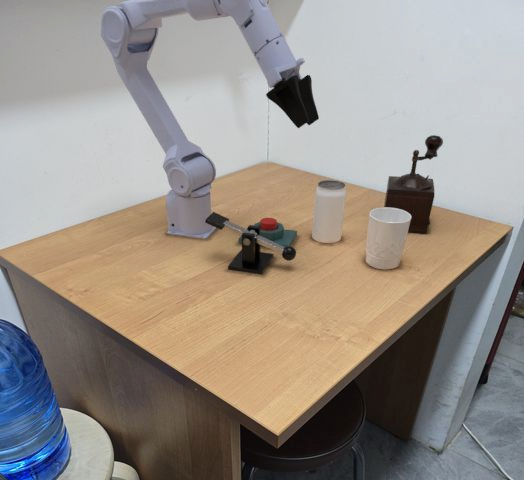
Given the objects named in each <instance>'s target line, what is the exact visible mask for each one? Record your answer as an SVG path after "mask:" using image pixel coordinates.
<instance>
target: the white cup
mask: <svg viewBox="0 0 524 480" xmlns="http://www.w3.org/2000/svg"><path fill="white" fill-rule="evenodd" d="M411 218H412V217H411V215H410V214H409V213H408V212H406V211H404V210H401V209H397V208H389V207H384V206H383V207H377V208H373V209H371V210H370V211H369V214H368V224H367V232H366V235H367V236H366V247H365V249H366V251H365V263H366V264H368V266H370V267H372V268H374V269H378V270H393V269H396V268H398V266H399V265H400V263H401V260H402V254H403V253H404V248H405V245H406V241H407V237H408V233H409V232H408V230H409V226H410V222H411Z"/></svg>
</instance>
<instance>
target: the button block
mask: <svg viewBox="0 0 524 480" xmlns="http://www.w3.org/2000/svg"><path fill="white" fill-rule="evenodd" d="M250 225H251V226H259V227H260V221H258V222H255V223H254V224H250ZM246 229H247V230H248V227H247V228H246ZM239 236H240V235H239ZM261 236H262V237H264V238H266V239H269V240H271V241H273V242H275V243H277V244H280V245H282V246H284V247H286V246H292V245H293V243H294V242H295V240H296V238H297V236H298V231H297V230H292V229H285V227H284V225H283V224H282V223H281V222H278V221H277V229H276V230H272V231H266V230H262V229H261ZM238 244H239V245H242V236H240V237H238ZM260 248H265V247H264V246H262V245H261V246H260Z"/></svg>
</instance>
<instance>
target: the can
mask: <svg viewBox="0 0 524 480" xmlns="http://www.w3.org/2000/svg"><path fill="white" fill-rule="evenodd" d="M345 187H346V183H344V182H343V181H340V180H335V179H325V180H320V181H318V183H317V186H316V189H315V192H314V202H313V203H314V205H313V217H312V230H311V231H312V232H311V237H312V239H313V240H314V241H316V242H318V243H322V244H335V243H338V242H339V241H341V240H342V234H343V227H344V226H343V225H344V219H345V211H346V210H345V209H346V199H347V190H346V188H345Z"/></svg>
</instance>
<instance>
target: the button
mask: <svg viewBox="0 0 524 480" xmlns="http://www.w3.org/2000/svg"><path fill="white" fill-rule="evenodd" d="M259 222H260V227H261V229H262V230H266V231H272V230H276V229H277V222H278V220H277V219H276V218H273V217H263V218H261V219H260V220H259Z"/></svg>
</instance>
